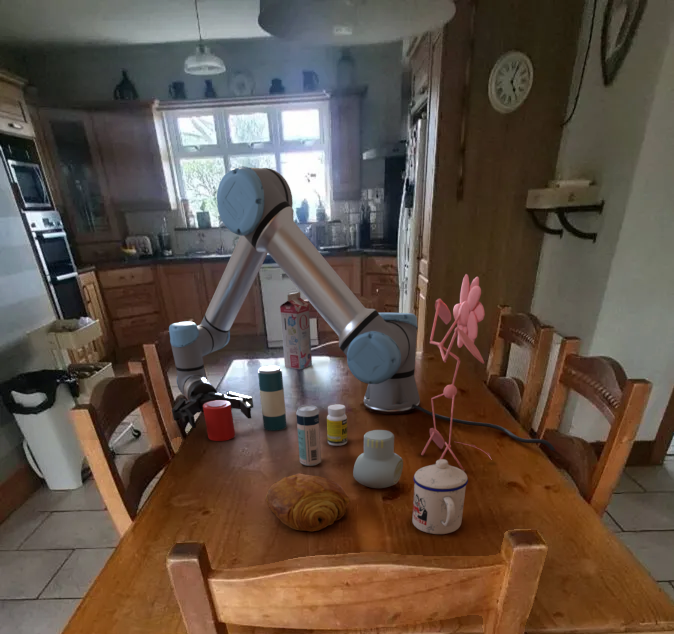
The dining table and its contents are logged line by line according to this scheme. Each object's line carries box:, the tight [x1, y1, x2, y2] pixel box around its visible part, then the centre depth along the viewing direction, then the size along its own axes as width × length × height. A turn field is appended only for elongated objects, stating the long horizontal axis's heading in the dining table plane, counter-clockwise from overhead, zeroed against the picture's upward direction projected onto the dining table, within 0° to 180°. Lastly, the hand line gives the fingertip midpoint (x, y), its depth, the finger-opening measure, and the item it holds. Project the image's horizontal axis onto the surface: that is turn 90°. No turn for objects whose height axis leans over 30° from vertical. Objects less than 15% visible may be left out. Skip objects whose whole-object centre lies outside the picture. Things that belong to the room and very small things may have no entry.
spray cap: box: [203, 400, 236, 442], centre depth 133 cm, size 7×7×8 cm
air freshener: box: [352, 429, 404, 489], centre depth 108 cm, size 11×8×10 cm
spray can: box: [257, 365, 288, 432], centre depth 135 cm, size 6×6×14 cm
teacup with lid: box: [411, 458, 469, 535], centre depth 93 cm, size 12×9×12 cm
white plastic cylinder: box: [295, 404, 322, 467], centre depth 117 cm, size 5×5×12 cm
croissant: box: [265, 472, 351, 532], centre depth 99 cm, size 14×16×8 cm
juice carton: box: [279, 291, 313, 370], centre depth 181 cm, size 7×7×22 cm
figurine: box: [420, 273, 492, 472], centre depth 109 cm, size 15×26×35 cm, turn 9°
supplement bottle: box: [326, 403, 348, 447], centre depth 127 cm, size 5×5×8 cm
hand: (221, 417), depth 130 cm, fingers open, 13 cm apart
